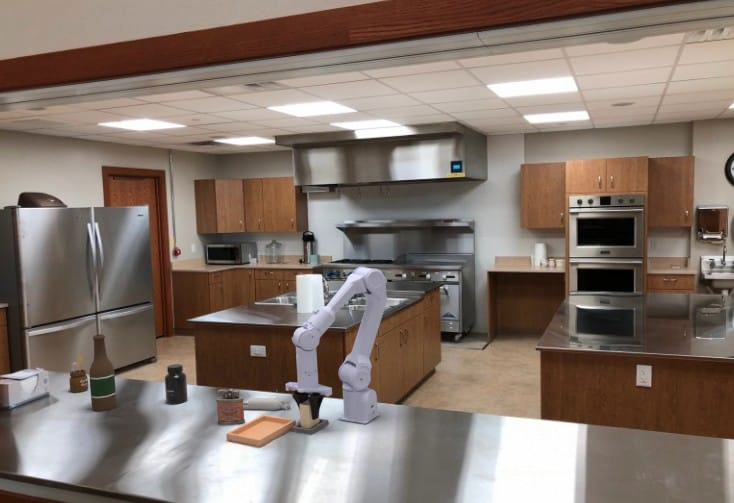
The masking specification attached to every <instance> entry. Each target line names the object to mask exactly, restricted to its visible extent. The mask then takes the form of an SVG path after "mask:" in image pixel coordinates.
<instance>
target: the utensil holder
mask: <svg viewBox="0 0 734 503" xmlns="http://www.w3.org/2000/svg"><path fill="white" fill-rule="evenodd" d="M75 364H76V365H77V366H75V367H76V370H75V367H74V365H75ZM82 365H83V355H78V356H77V361H76V362H75V361H74V362H72V364H71V365H70V366H71V368H72V369H71V372H69V377H70V378H69V380H68V381H69V390H70V392H71V393H73V394H77V393H83V392H86V391H88V390H89V378H88V376H87V371H86V370H85V369H81V366H82ZM77 367H78V369H77Z"/></svg>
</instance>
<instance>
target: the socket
mask: <svg viewBox="0 0 734 503" xmlns="http://www.w3.org/2000/svg"><path fill="white" fill-rule="evenodd" d="M328 425H329V419H324V418H320V422H319V423H318V424H316V425H315V426H313V427H311V428H304V427H301V421H299V422H298V423H296V425H294V426H293V427H292V429H291V432H294V433H300V434H304V435H311V436H312V435H313V434H316V433H317V432H318V431H320V430H321V429H323V428H325V427H327V426H328Z"/></svg>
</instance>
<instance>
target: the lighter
mask: <svg viewBox="0 0 734 503" xmlns="http://www.w3.org/2000/svg"><path fill="white" fill-rule="evenodd" d="M217 393H218V394H217V395H218V397H216V399H215V402H216V406H217V407H216V408H217V425H220V426H235V425H236V426H238V425H240V426H241V425H244V424H246V418H245V412H244V409H243V403H244V396H239V394H240V391H239V389H235V390H234V389H233V388H229V389H228V390H227V389H219V390H217Z"/></svg>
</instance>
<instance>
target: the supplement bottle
mask: <svg viewBox="0 0 734 503" xmlns="http://www.w3.org/2000/svg"><path fill="white" fill-rule="evenodd" d="M183 366H184V365H183V364H181V363H174V364H169V365H168V366H166V367H167V370H166V371H167V374H165V376H164V387H165V401H166V402H165V403H167V404H168V405H178V404H179V405H180V404H183V403H186V401H188V384H187V382H188V380H187V374H186V373H185V372H183V371H184V368H183Z"/></svg>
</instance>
